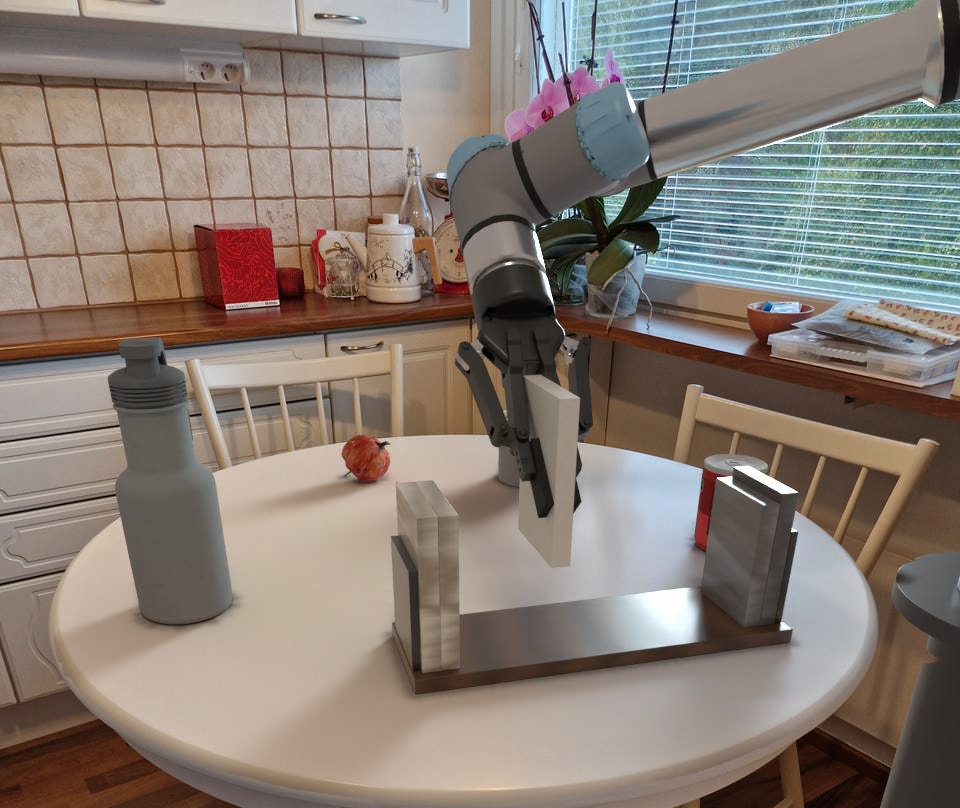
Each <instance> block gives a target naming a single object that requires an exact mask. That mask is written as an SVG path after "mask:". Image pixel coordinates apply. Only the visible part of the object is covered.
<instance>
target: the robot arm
mask: <svg viewBox="0 0 960 808" xmlns="http://www.w3.org/2000/svg"><path fill="white" fill-rule="evenodd" d="M958 100H959V101H960V0H919V1H918V2H917V3H916V4H914V5H913V6H911V7H908V8H905V9H902V10H900V11H899V10H898V11H897V12H894V13H890V14H887V15H885V16H882V17H879V18H876V19H872V20H871V21H868V22H865V23H862V24H859V25H856V26H854V27H850V28H847V29H845V30H841V31H839V32H836V33H833V34H830V35H827V36H825V37H821V38H818V39H816V40H812V41H810V42H807V43H804V44H801V45H798V46H795V47H792V48H789V49H787V50H784V51H781V52H778V53H775V54H772V55H770V56H767V57H763V58H761V59H758V60H755V61H752V62H749V63H746V64H743V65H740V66H738V67H734V68H732V69H729V70H726V71H722V72H720V73H717V74H715V75H712V76H708V77H706V78H703V79H700V80H697V81H694V82H691V83H688V84H686V85H682V86H680V87H677V88H674V89H671V90H669V91H666V92H662V93H660V94H656V95H653V96H651V97H647V98H645V99H643V100H639V101H637V102H634V100H633V98H632V96H631V94H630V92H629V89H628V88H627V87H626V85H625V84H623V83H622V82H620V81H612V82H609V83H608V84H606V85H604V86H602V87H601V88H599V89H598V90H596V91H594V92H591V93H586V94H585V95H583V96H581V98H580V100H578V101H576V102H575V103H573V104H572V105H570V106H569V107H568V108H566V109H565V110H563V111H561V112H560V113H558V114H556V115H555V116H553V117H552V118H550V119H548V120H547V121H546V122H544V123H542V124H541V125H540V126H538V127H536V128H535V129H533V130H532V131H530V132H528V133H527V134H525V135H524V136H522V137H519V138H518V139H516V140H513V141H512V142H511V141H510V140H509V139H508V138H506V137H505V136H503V135H501V134H497V133H492V132H488V133H485V134H484V135H480V136H479V135H478V136H476V135H472V136H470V137H468V138H466V139H464V140H463V141H462V142H461V143H459V144H458V145H457V146H456V147H455V149H454V150H453V151H452V153H451V155H450V157H449V159H448V162H447V164H446V165H447V166H446V180H447V181H446V182H447V188H448V204H449V206H450V212H451V214H452V217H453V221H454V225H455V229H456V233H457V237H458V242H459V247H460V250H461V257H462V261H463V266H464V270H465V275H466V280H467V284H468V289H469V294H470V296H471V304H472V309H473V314H474V319H475V323H476V328H477V336H476V339H475V340H473V341H471V342H468V341H461V342H460V343H459V344H458V348H457V350H456V355H455V359H454V365H455V366H456V368H457V369H458V371H459V372H460V373H461V374H462V375H463V376H464V377H465V378H466V381H467V382H468V385H469V388H470V390H471V393H472V396H473V399H474V401H475V404H476V406H477V410H478V412H479V414H480V415H479V416H480V417H481V420H482V422H483V425H484V428H485V431H486V433H487V436H488V439H489V441H490V444H491V445H492V446H493V447H494V448H499V447H501V446H505V447H509V448H510V450H509V452H510V454H511V455H512V456H515V459H516V464H517V469H518V473H519V477H520V479H521V480H522V482H525V481H530V483H531V488H532V492H533V497H534V501H535V506H536V510H537V515H538V518H546V517H547V515H548V513H549V512H550V510H551V508H552V507H553V505H554V501H553V496H552V492H551V488H550V483H549V479H548V474H547V470H546V466H545V461H544V457H543V452H542V448H541V444H540V439H539V438H531V440H529V436H530V429H529V421H528V413H527V405H526V397H525V389H524V381H523V376H525V375H542V376H544V377H545V378H547V379H549V380H551V381H552V382H554V383H556V384H557V385H559V386H561V387H562V384H561V381H560V379H559V376H558V372H557V362H556V357H557V355H558V353H559V352H560V351H561V352H562V353H563V359H564V361H565V362H564V364H565V365H566V366H568V371H567V381H568V391H569V392H571V393H572V394H574V395H576V396H578V397H579V398H580V408H579V425H578V442H577V443H582V442H584V441H585V439H586V438H587V436H588V435H589V432H590V431H591V430H592V428H593V425H594V418H593V405H592V395H591V384H590V383H591V382H590V374H589V362H588V358H589V356H590V352H591V349H592V345H593V341H592V340H591V338H590V337H587V336H582V337H581V338H580V339H579V340H577V339H574V338H572V337H569V336H567V335H566V333H565V329H564V328H563V327H562V326H561V324H560V323H559V322H558V319H557V315H556V308H555V304H554V300H553V296H552V292H551V287H550V283H549V279H548V277H547V271H546V267H545V263H544V259H543V255H542V250H541V247H540V243H539V238H538V235H537V230H536V227H537V226H538V225H541V224H542V223H544V222H547V221H549V220H550V219H553V218H554V217H555V216H557V215H558V214H560V213H562V212H564V211H565V210H568V209H570V208H571V207H573V206H575V205H577V204H579V203H581V202H583V201H584V200H586V199H588V198H590V197H596V198H609V197H611V196H615V195H619V194H622V193H623V192H624V191H626V190H628V189H629V190H630V189H633V188H635V187H638V186H642V185H644V184H648V183H651V182H653V181H656V180H660V179H663V178H666V177H669V176H672V175H675V174H679V173H682V172H685V171H689V170H692V169H696V168H698V167H702V166H704V165H708V164H711V163H715V162H718V161H722V160H724V159H728V158H731V157H734V156H738V155H741V154H745V153H747V152H748V153H749V152H751V151H755V150H757V149H761V148H763V147H768V146H770V145H774V144H777V143H780V142H783V141H786V140H790V139H794V138H796V137H800V136H803V135H806V134H809V133H813V132H816V131H819V130H823V129H827V128H829V127H832V126H836V125H839V124H842V123H845V122H849V121H853V120H856V119H858V118H862V117H866V116H869V115H871V114H876V113H878V112H879V113H880V112H881V111H886V110H888V109H891V108H895V107H899V106H901V105H904V104H908V103H911V102H914V101H923V103H925V104H927V105H928V106H930V107H932V108H934V107H938V106H941V105H945V104H949V103H951V102H955V101H958ZM485 358H486V360H487V361H489V362H490V363H491V364H492V365H493V367H495V368H496V369H498V371H499V372H500V377H501V386H502V389H503V391H504V398H505V409H506V410H507V417H508V422H507V420H506V417H505V415H504V412H503V411H504V409H503V407H502V405H501V402H500V399H499V396H498V393H497V391H496V389H495V386H494V383H493V381H492V378H491V375H490V373H489V369H488V368H487V365H486V363H485V361H484V359H485ZM582 469H583V462H582V459H581V455H580V450H579V445H578V444H577V458H576V475H575V492H574V509H573V515H574V514H575V512H576V511H577V510H578V508H579V506H580V505H581V503H582V498H581V497H582V496H581V493H580V489H579V485H578V480H577V478H578V476H579V475H580V473H581V472H582ZM958 589H959V591H960V578H959V581H958Z"/></svg>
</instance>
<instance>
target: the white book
mask: <svg viewBox="0 0 960 808" xmlns="http://www.w3.org/2000/svg"><path fill="white" fill-rule="evenodd" d="M523 381H524V389H525V397H526V405H527V413H528V421H529V429H530V436H529V440H531V438H539V439H540V444H541V448H542V452H543V457H544V461H545V466H546V470H547V474H548V479H549V483H550V488H551V492H552V496H553V501H554V505H553V507H552V508H551V510H550V512H549V513H548V515H547V517H546V518H538V515H537V510H536V506H535V501H534V497H533V492H532V488H531V483H530V481H525V482H522V480H521V479H520V486H519V487H518V489H519V490H518V491H519V492H518V495H519V496H518V523H517V524H518V525H517V526H518V527H517V529H518V531H519V532H520V533H521V535H523V537H524V538H525V539H526V540H527V542H529V544H530V545H531V546H532V547H533V548H534V549H535V551H536V552H537V553H538V554H539V555H540V556H541V557H542V559H543V560H544V561H545V562H546V563H547V565H548V566H549V567H550V568H551V569H555V568H564V567H571V558H572V557H571V556H572V542H573V541H572V539H573V525H574V524H573V523H574V514H573V509H574V492H575V475H576V458H577V445H578V443H579V442H578V425H579V408H580V398H579V397H578V396H576V395H574V394H572V393H571V392H569V390H567V389H566V388H564V387H563V386H562V385H561V386H559V385H557V384H556V383H554V382H552V381H551V380H549V379H547V378H545V377H544V376H542V375H525V376H523Z"/></svg>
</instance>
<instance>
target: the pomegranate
mask: <svg viewBox="0 0 960 808" xmlns="http://www.w3.org/2000/svg"><path fill="white" fill-rule="evenodd" d="M390 445H391V443H390V442H388V440H385V441H382V442H381V440H379V439H378V438H377V437H375V436H368V435H365V434H357V435H355V436H352V437H351V438H350V439H348V440H347V442H346V443H345V444H344V445H343V447H342V450H341V454H340V455H341V457H342V459H343V460H344V463H345V467H346V468H347V470H348V472H346V474H343V476H344V478H346V477H347V476H348V475H350V474H351V473H352V475H354V476H355V477H356V479H357V480H358V481H360V482H363V483H372V482H374V481H376V480H377V479H379V478H381V477H383V476H384V475H385V474H386V473H387V472H388V470H389V468H390V464H391V455H390V453H389V451H388V449H386V446H390Z"/></svg>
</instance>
